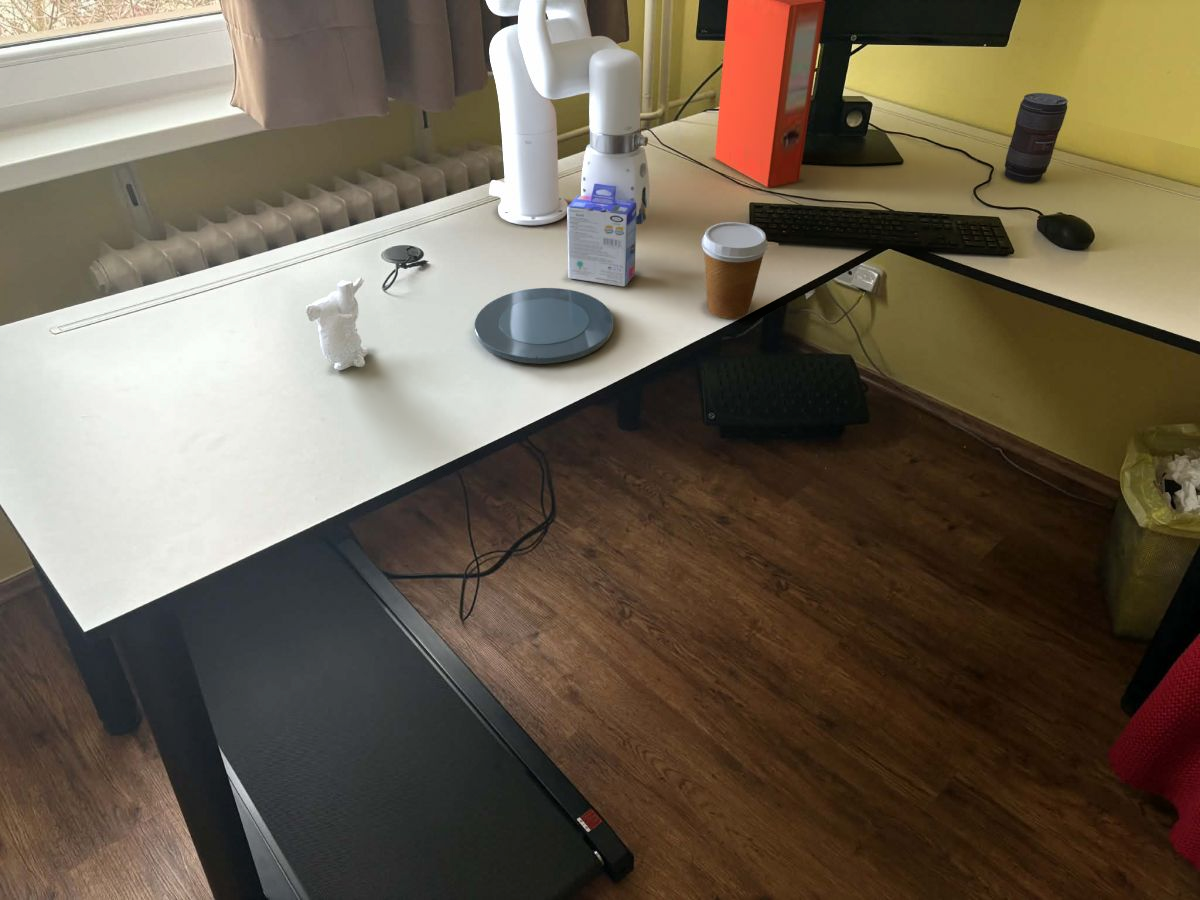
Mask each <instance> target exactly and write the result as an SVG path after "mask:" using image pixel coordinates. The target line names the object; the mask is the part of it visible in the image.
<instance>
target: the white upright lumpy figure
mask: <svg viewBox="0 0 1200 900" xmlns="http://www.w3.org/2000/svg"><path fill="white" fill-rule="evenodd" d="M364 281H365V279H363V278H362V277H359V278H358V279H356V281H355V282H352V281H350V280H339V282H338V283H337V291H335V290H333V291H332V292H330V293H329V295H328V296H327V297H324V298H321V299H318V300H316V301H314V302H313V303H312V304H311V303H309V304H306V307H305V313H306V316H307V317H306V318H307V319H308V320H309V321H310V322H311V323H313V322H315V323H317V324H318V326H317V330H318V336H319V345H320V349H321V352H322V354H323V357H324V358H326V360H327V361H329V362H330V363H333V364H334V369H335V371H342V370H345V369H348V368H349V367H351V366H353V367H358V368H362V367H364V366H365V364H366V361H365V357H366V356H367V355H368V354H370V349H369V348H367V347H362V338H361V335H360V334H359V333H358V328H357V327H356V326H357V324H356V321H357V320H358V317H359V303H358V301H357V299H356V298H357V297H355V294H356V293H357V292H358V290H359V289H360V288H362V286H363V284H364Z"/></svg>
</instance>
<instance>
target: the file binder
mask: <svg viewBox="0 0 1200 900" xmlns="http://www.w3.org/2000/svg"><path fill="white" fill-rule="evenodd" d="M825 7H826V1H825V0H728V3H727V13H726V25H725V36H724V46H723V47H724V49H723V59H722V70H721V71H722V72H721V82H720V92H719V94H720V95H719V103H718V117H717V128H716V140H715V141H716V142H715V151H714V152H715V153H714V159H715V160H717V161H719V162H720V163H723V164H724V165H726V166H728V167H730V168H732V169H733V170H735V171H737V172H739V173H741V174H743V175H745V176H746V177H748V178H750V179H752V180H754V181H755V182H757V183H759V184H760V185H762V186H764V187H766V188H770V189H771V188H775V187H778V186H782V185H787V184H791V183H796V182H799V180H800V176H801V168H802V163H803V156H804V150H805V143H806V135H807V130H808V121H809V116H810V108H811V101H812V94H813V89H814V81H815V76H816V75H815V74H816V67H817V61H818V54H819V47H820V40H821V34H822V27H823V20H824V13H825Z"/></svg>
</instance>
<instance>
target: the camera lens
mask: <svg viewBox="0 0 1200 900" xmlns="http://www.w3.org/2000/svg"><path fill="white" fill-rule="evenodd" d="M1068 102H1069V101H1068V99H1067V98H1066V97H1064V96H1061V95H1057V94H1052V93H1047V92H1046V93H1044V92H1032V93H1028V94H1025V95H1024V96H1023V99H1022V101H1021V102H1020V103H1019V109H1018V111H1017V115H1016V119H1015V122H1014V123H1015V125H1014V130H1013V133H1012V135H1011V140H1010V143H1009V146H1008V149H1007V152H1006V157H1005V163H1004V169H1005V170H1004V176H1005V178H1007V179H1008V180H1010V181H1012V182H1016V183H1020V184H1036V183H1039V182H1040V181H1041V180H1042V178H1043V176H1044V174H1045V173H1046V172H1047V171H1048V167H1049V166H1050V163H1051V160H1052V157H1053V154H1054V150H1055V146H1056V143H1057V139H1058V136H1059V133H1060V131H1061V129H1062V126H1063V123H1064V120H1065V117H1066V114H1067V111H1068Z"/></svg>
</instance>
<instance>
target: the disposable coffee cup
mask: <svg viewBox="0 0 1200 900" xmlns="http://www.w3.org/2000/svg"><path fill="white" fill-rule="evenodd" d="M700 242H701V247H702V250H703V251H704V252H703V253H704V267H705V269H704V270H705V271H704V272H705V287H706V301H707V302H706V303H707V306H706V307H707V310H708V312H709V313H710V314H711V315H713V316H715V317H717V318H721V319H725V320H733V319H741V318H743V317H745V316H747V315H748V314H749V313H750V309H751V305H752V301H753V298H754V294H755V289H756V287H757V286H756V285H757V281H758V278H759V274H760V270H761V266H762V262H763V258H764V255H765V254H766V251H767V250H768V248H769V242H768V240H767V236H766V233H765V232H764V230H763V229H761V228H760V227H758V226H756V225H753V224H750V223H745V222H740V221H727V222H726V221H725V222H720V223H716V224H714V225H712V226H709V227H708V228H707V229H706V230H705V233H704V235H703V237H702V238H701V241H700Z"/></svg>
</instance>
